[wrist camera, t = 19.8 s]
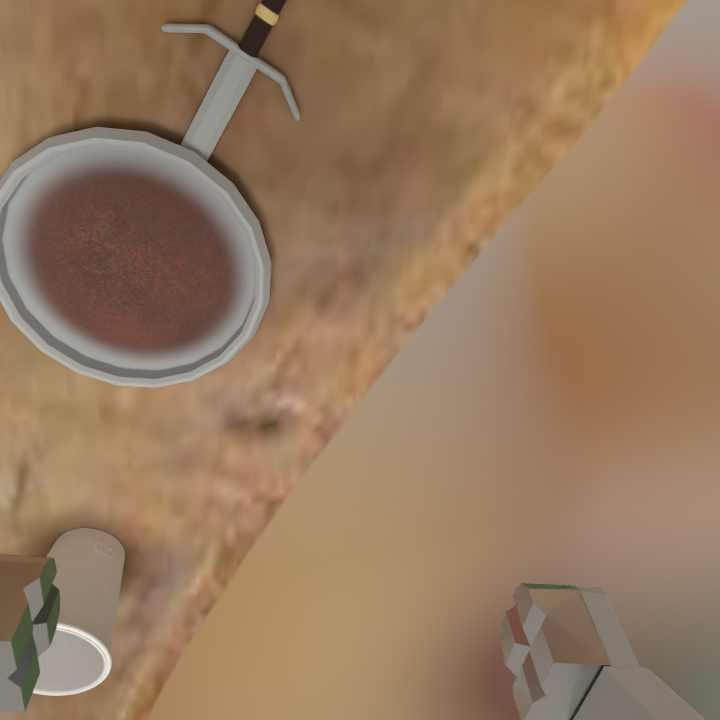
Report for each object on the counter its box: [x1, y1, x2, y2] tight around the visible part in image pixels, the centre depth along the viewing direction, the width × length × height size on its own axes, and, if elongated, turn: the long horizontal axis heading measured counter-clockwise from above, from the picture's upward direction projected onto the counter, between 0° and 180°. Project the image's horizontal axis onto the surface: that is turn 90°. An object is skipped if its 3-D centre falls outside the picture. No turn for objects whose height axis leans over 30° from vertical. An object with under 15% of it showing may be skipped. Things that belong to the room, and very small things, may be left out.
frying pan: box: [0, 0, 300, 388], centre depth 38 cm, size 17×3×28 cm
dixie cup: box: [33, 528, 125, 696], centre depth 50 cm, size 8×8×10 cm
